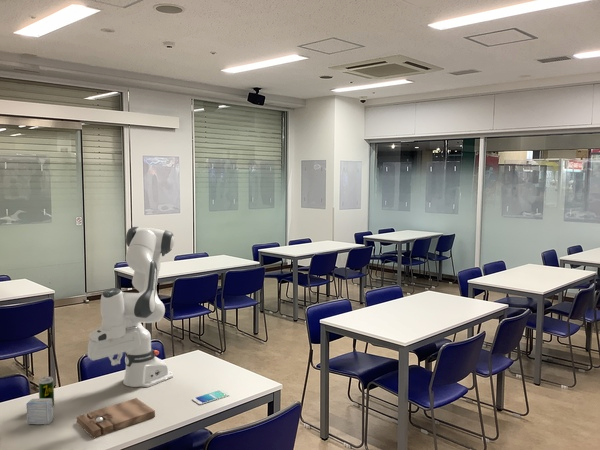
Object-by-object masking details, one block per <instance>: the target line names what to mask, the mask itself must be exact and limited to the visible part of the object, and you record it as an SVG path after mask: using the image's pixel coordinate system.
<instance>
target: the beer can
mask: <svg viewBox="0 0 600 450" xmlns="http://www.w3.org/2000/svg"><path fill="white" fill-rule="evenodd" d="M54 384H55V383H54V378H53V376H44V377H41V378H40V379H38V397H39V398H38V399H42V398H52V405H53V406H54V407H55V386H54Z"/></svg>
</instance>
